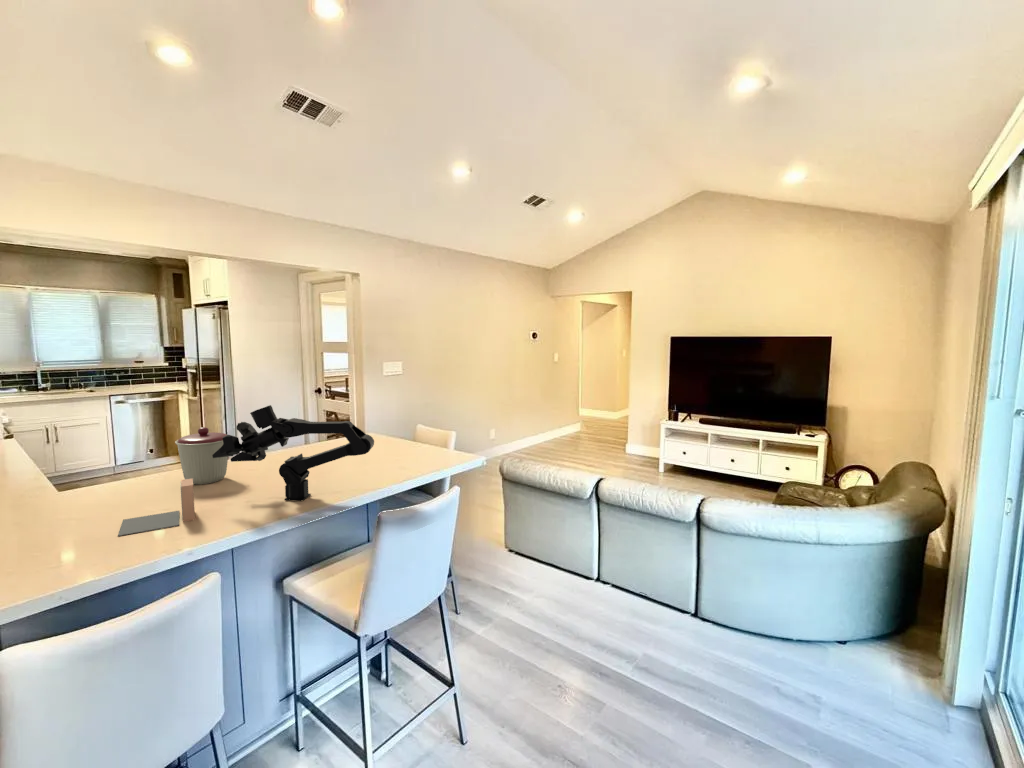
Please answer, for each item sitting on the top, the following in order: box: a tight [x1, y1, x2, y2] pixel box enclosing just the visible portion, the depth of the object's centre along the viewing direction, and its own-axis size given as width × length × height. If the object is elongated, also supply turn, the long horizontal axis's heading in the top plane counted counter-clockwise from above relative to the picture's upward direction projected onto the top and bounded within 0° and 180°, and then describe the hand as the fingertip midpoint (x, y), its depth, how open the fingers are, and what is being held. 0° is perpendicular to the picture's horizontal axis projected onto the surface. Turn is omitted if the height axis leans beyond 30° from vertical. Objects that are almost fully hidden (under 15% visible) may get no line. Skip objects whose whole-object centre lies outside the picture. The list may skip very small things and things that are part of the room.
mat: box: [117, 510, 180, 537], centre depth 141 cm, size 14×14×1 cm
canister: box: [174, 426, 229, 485], centre depth 182 cm, size 18×18×21 cm
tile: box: [180, 478, 196, 523], centre depth 146 cm, size 3×8×11 cm, turn 35°
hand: (222, 458), depth 161 cm, fingers open, 9 cm apart
